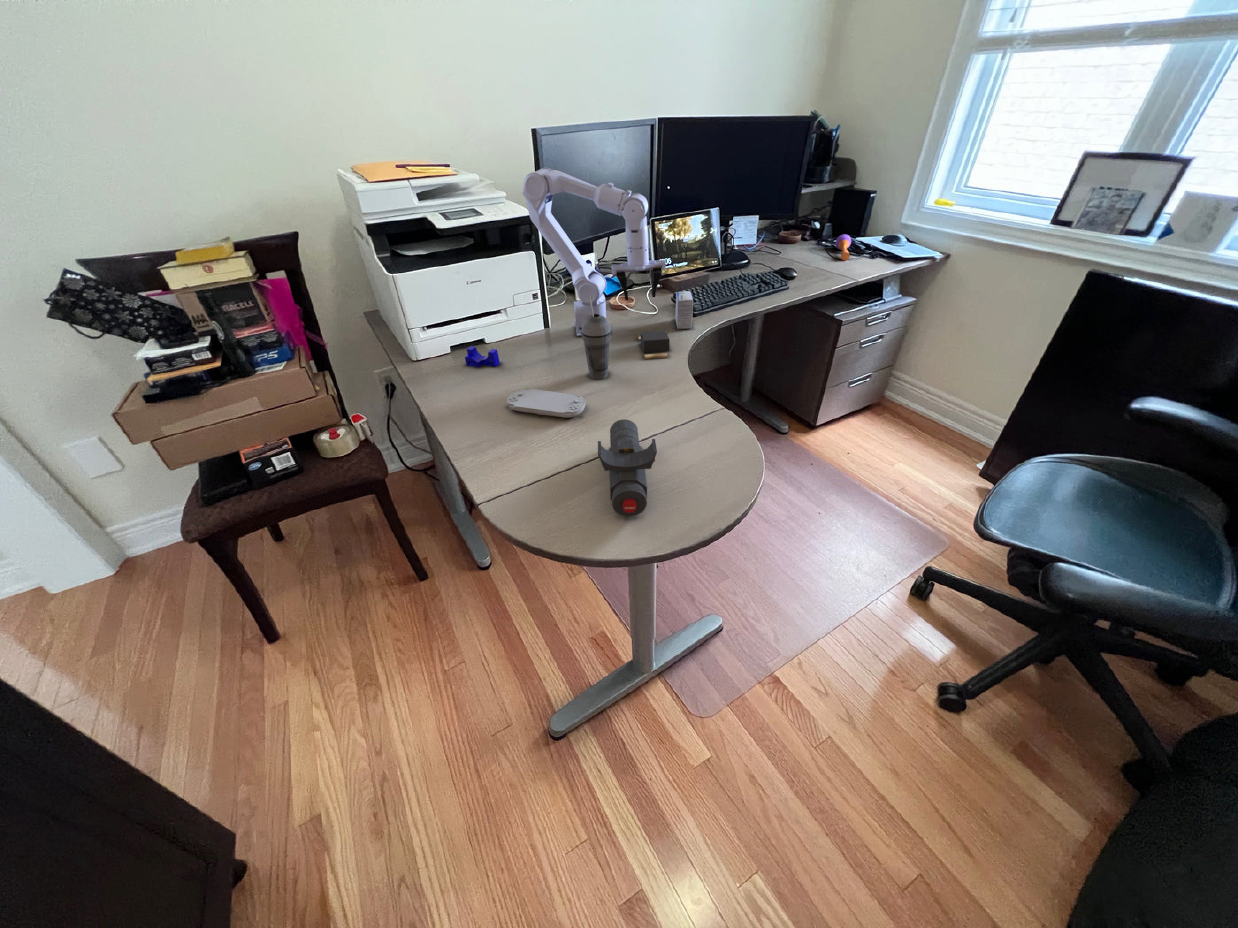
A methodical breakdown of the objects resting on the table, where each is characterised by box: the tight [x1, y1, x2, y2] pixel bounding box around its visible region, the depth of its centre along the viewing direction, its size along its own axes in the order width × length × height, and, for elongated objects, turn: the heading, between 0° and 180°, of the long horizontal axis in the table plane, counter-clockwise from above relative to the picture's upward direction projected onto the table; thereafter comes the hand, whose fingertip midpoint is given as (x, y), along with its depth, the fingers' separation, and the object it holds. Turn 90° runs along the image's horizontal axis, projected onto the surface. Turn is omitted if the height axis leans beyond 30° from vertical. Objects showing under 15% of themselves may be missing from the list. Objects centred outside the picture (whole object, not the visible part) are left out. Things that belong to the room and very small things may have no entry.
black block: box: [640, 330, 670, 354], centre depth 135 cm, size 7×6×4 cm
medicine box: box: [674, 290, 694, 330], centre depth 146 cm, size 8×4×9 cm, turn 179°
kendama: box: [835, 234, 852, 262], centre depth 202 cm, size 6×6×20 cm
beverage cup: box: [581, 296, 612, 380], centre depth 118 cm, size 7×7×20 cm
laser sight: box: [597, 418, 658, 517], centre depth 88 cm, size 10×22×10 cm, turn 2°
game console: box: [506, 388, 586, 419], centre depth 111 cm, size 18×2×8 cm
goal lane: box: [637, 336, 668, 360], centre depth 136 cm, size 6×14×1 cm, turn 6°
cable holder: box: [464, 345, 501, 368], centre depth 129 cm, size 8×4×4 cm, turn 71°
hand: (640, 297), depth 138 cm, fingers open, 7 cm apart
